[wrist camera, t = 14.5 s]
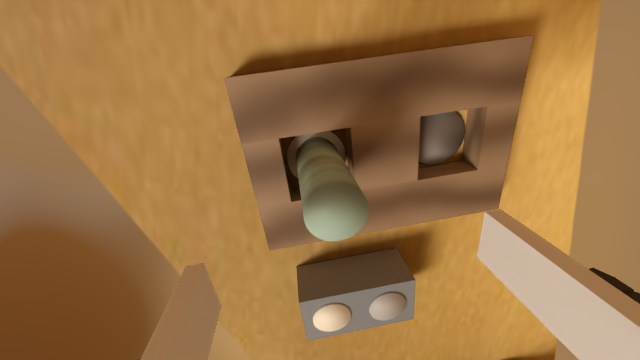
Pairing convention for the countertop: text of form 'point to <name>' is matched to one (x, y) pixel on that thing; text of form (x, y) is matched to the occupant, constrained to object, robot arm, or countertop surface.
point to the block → (355, 293)
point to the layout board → (386, 131)
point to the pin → (329, 192)
